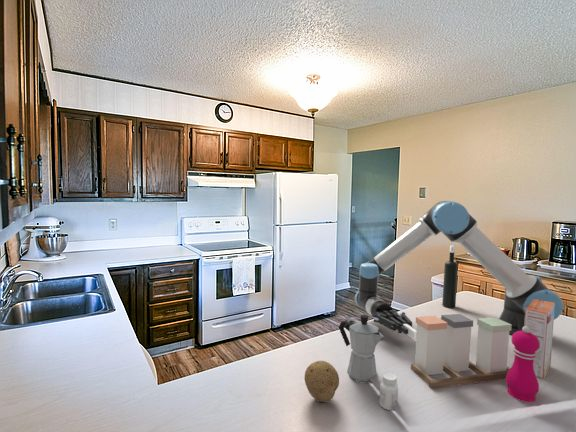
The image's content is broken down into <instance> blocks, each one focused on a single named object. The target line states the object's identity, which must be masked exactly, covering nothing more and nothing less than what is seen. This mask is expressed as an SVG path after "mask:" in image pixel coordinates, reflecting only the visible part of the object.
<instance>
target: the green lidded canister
mask: <svg viewBox="0 0 576 432" xmlns="http://www.w3.org/2000/svg"><path fill="white" fill-rule="evenodd" d="M476 325H477V326H478V327H477V328H478V329H477V343H476V344H477V345H476V359H475V365H476V366H478V367H479V368H481V369H482V370H484V371H485V372H487V373H493V372H501V371H506V368H507V367H508V365H507V364H508V354H509V353H508V352H509V341H510V334H509V331H511V326H512V325H511V324H509V323H507V322H505V321H502V320H500V319H499V318H498V317H495V316H494V317H486V318H485V317H483V318H482V317H481V318H477V319H476Z"/></svg>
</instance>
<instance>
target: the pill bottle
mask: <svg viewBox="0 0 576 432" xmlns="http://www.w3.org/2000/svg"><path fill="white" fill-rule="evenodd" d="M381 378H382V379H381V382H380V384H379V385H380V386H379V405H380V407H381V408H382V407H383V408H382V409H384V410H386V409H387V411H395V408H394V406H397V405H398V402H399V401H398V400H399V399H398V398H399V386H398V384H397V383H398V378H397V375H396V374H394V373H392V372H383V374H382V377H381Z"/></svg>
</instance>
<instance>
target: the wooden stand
mask: <svg viewBox="0 0 576 432" xmlns="http://www.w3.org/2000/svg"><path fill="white" fill-rule="evenodd" d="M510 368H511V367H509V366H507V368H506V371H501V372H493V373H487V372H485V371H484V370H482V369H481V368H479V367H478V366H476V363H473V362H472V361H470V360H469V370H470V371H472V372H473V373H475V374H472V375H462V376H461V375H460V374H459V373H457V372H455V371H453V370H452V369H451V368H449V367H448V366H447V365H445V364H444V363H443V373H445V374H446V375H447V376H449V378H448V377H447V378H440V379H434V378H432V376H431V375H427V374H426V373H425V372H424V371H423V370H421V369H420V368H419V367H418V366H417V365H416V364H415V362H414V363H412V362H411V364H410V370H411V371H412V372H413V373H414V374H416V375H417V376H418V377H419V378H420V379H421V380H423V382H424V383H426V384H427V385H428V387H429V389H430V390H433V389H441V388H448V387H456V386H463V385H468V384H469V385H470V384H477V383H484V382H492V381H500V380H506V375H507V373H508V371H509V370H510Z"/></svg>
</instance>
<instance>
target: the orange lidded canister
mask: <svg viewBox="0 0 576 432" xmlns="http://www.w3.org/2000/svg"><path fill="white" fill-rule="evenodd" d="M415 323H416V330H417V334H416V340H415V352H414V353H415V357H414V364H416V365H417V366H418V367H419V368H420V369H421V370H423V371H424V372H425V373H426V374H427V375H429V376H433V375H441V374H444V372H443V363H444V346H445V330H446V329H447V324H448V323H447V322H445V321H443V320H442V319H441V317H438V316H436V315H427V316H426V315H424V316H415Z"/></svg>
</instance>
